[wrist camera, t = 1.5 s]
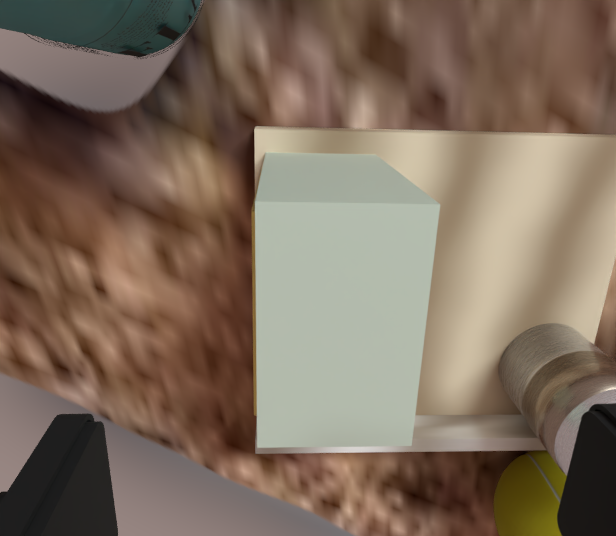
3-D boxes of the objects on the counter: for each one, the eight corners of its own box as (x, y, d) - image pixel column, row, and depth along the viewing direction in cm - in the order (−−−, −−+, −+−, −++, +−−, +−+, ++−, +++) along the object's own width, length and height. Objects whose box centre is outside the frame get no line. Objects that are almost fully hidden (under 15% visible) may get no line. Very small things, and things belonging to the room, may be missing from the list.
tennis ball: (554, 523, 34) (620, 630, 27) (459, 501, 33) (503, 607, 26) (607, 439, 31) (693, 534, 25) (506, 413, 30) (568, 504, 24)
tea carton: (375, 154, 23) (440, 204, 14) (364, 313, 26) (411, 445, 16) (262, 152, 23) (249, 201, 13) (262, 313, 26) (252, 447, 16)
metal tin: (600, 322, 27) (724, 416, 19) (579, 404, 28) (686, 519, 21) (505, 322, 26) (594, 417, 19) (490, 404, 28) (566, 522, 21)
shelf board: (624, 135, 25) (676, 142, 22) (560, 409, 30) (593, 449, 27) (255, 126, 24) (252, 133, 21) (258, 412, 29) (255, 453, 26)
